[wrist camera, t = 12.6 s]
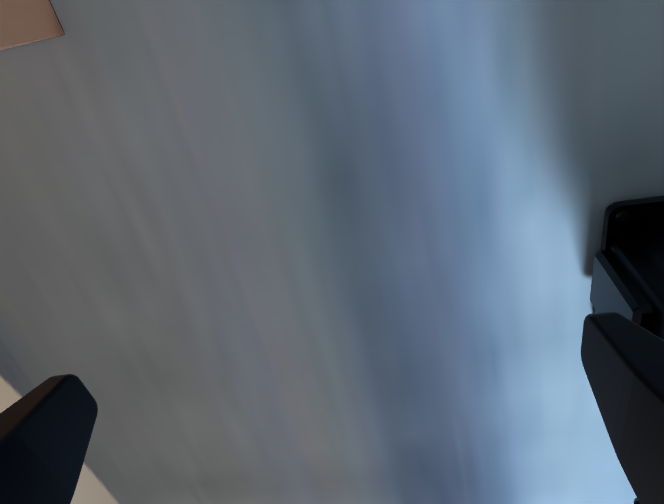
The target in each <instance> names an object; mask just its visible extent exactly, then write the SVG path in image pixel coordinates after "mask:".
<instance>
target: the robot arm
mask: <svg viewBox="0 0 664 504" xmlns="http://www.w3.org/2000/svg"><path fill="white" fill-rule="evenodd" d="M622 211H625V213H624V215H623V216H622V217H619V218H615V217H616V215H617V214H618V213H619V212H622ZM590 301H591V303H592V305H593V306H594V308H595V312H594V313H593V314H589V315H587V316H586V317H585V320H584V326H583V335H582V345H581V359H582V363H583V367H584V369H585V372H586V375H587V378H588V380H589V383H590V386H591V388H592V391H593V394H594V396H595V399H596V402H597V405H598V407H599V410H600V413H601V415H602V418H603V421H604V423H605V426H606V429H607V431H608V434H609V437H610V440H611V442H612V445H613V447H614V450H615V452H616V455H617V457H618V460H619V462H620V464H621V466H622V468H623V470H624V472H625V474H626V476H627V478H628V480H629V482H630V484H631V486H632V488H633V490H634V492H635V494H636V496H637V498H636V499H635V500H634V504H664V196H661V197H653V198H644V199H636V200H627V201H619V202H616V203H613V204H612V205H610V206H609V207H608V208H607V209H606V212H605V216H604V226H603V235H602V245H601V250H599V251H598V252H597V253H596V254H595V256H594V263H593V273H592V284H591V294H590ZM97 411H98V408H97V403H96V401H95V399H94V398H93V397H92V395H91V394H90V392H89V391H88V390H87V388H86V387H85V386H84V384H83V383H82V382H81V380H80V379H79V378H78V377H77V376H75V375H73V374H67V375H58V376H53V377H50V378H49V379H47V380H46V381H44V382H43V383H41V384H40V385H39V386H37V387H36V388H35V389H33V390H32V391H31V392H29V393H28V394H26V395H25V396H24V397H22V398H21V399H20V400H18V401H17V402H15V403H14V404H13V405H11V406H10V407H9V408H7V409H6V410H5V411H3V412H2V413H0V504H70V503H71V500H72V497H73V495H74V491H75V489H76V485H77V482H78V479H79V475H80V472H81V468H82V465H83V462H84V458H85V455H86V451H87V448H88V444H89V441H90V438H91V434H92V431H93V427H94V424H95V420H96V417H97Z"/></svg>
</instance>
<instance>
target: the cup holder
mask: <svg viewBox="0 0 664 504" xmlns="http://www.w3.org/2000/svg"><path fill="white" fill-rule="evenodd" d="M62 35H65V34H64V32H63V30H62V28H61V25H60V23H59V21H58V19H57V17H56V14H55V12H54V10H53V8H52V6H51V3H50V1H49V0H0V51H1V50H5V49H9V48H13V47H17V46H21V45H25V44H29V43H33V42H37V41H41V40H46V39H50V38H54V37H58V36H62Z"/></svg>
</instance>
